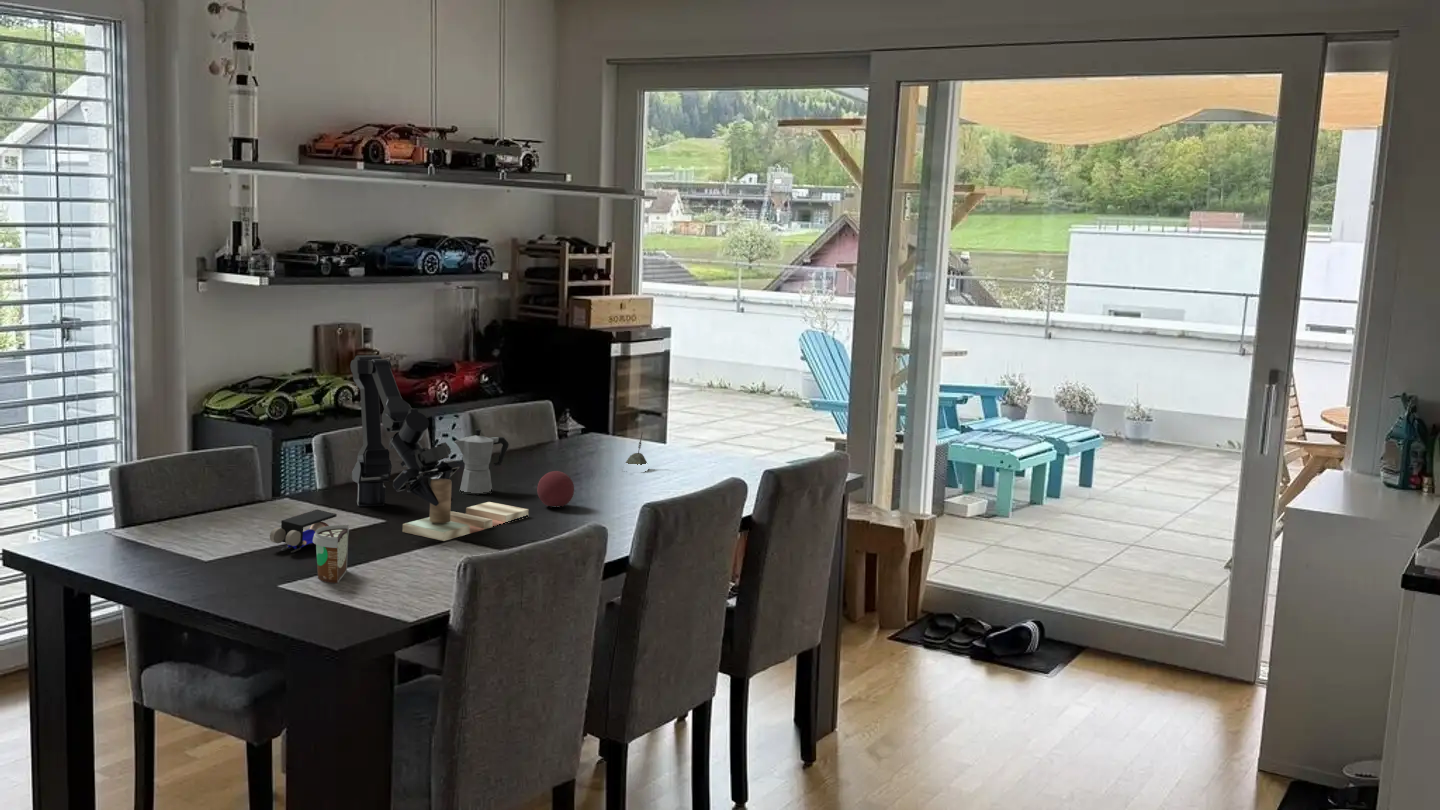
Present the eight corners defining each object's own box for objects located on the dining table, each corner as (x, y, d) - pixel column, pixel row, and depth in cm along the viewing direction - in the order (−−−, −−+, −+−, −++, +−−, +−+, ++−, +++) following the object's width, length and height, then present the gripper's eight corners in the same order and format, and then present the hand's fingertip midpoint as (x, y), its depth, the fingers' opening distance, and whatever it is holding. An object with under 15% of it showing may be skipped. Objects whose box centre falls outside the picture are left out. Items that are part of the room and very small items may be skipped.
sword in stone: (640, 474, 399) (642, 437, 398) (618, 471, 402) (620, 434, 401) (654, 469, 409) (656, 433, 407) (632, 466, 411) (633, 430, 410)
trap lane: (488, 509, 341) (489, 501, 340) (528, 516, 335) (528, 508, 334) (402, 532, 312) (402, 523, 311) (443, 540, 306) (444, 532, 305)
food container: (319, 568, 277) (319, 523, 276) (348, 569, 278) (349, 524, 276) (305, 584, 265) (306, 537, 264) (336, 585, 266) (337, 538, 264)
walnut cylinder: (430, 523, 310) (431, 483, 309) (428, 518, 315) (429, 478, 314) (451, 522, 312) (452, 482, 311) (448, 517, 317) (450, 478, 315)
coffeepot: (456, 496, 354) (457, 432, 351) (449, 488, 362) (451, 426, 360) (510, 494, 360) (513, 431, 357) (502, 487, 368) (505, 426, 366)
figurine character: (293, 562, 286) (339, 541, 299) (290, 530, 284) (337, 510, 297) (269, 557, 288) (317, 536, 302) (267, 525, 286) (314, 506, 300)
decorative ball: (558, 501, 354) (559, 466, 353) (580, 509, 347) (582, 472, 346) (529, 505, 347) (530, 469, 346) (551, 513, 340) (552, 476, 339)
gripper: (403, 437, 304) (437, 490, 301) (454, 428, 320) (488, 478, 317) (377, 465, 309) (411, 517, 305) (429, 454, 325) (462, 504, 322)
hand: (444, 503), depth 312 cm, fingers closed on walnut cylinder, 5 cm apart
